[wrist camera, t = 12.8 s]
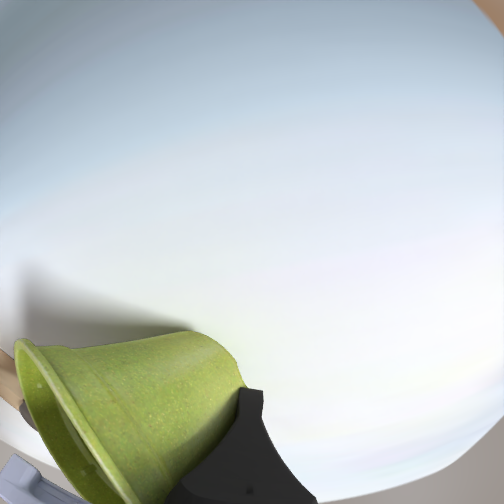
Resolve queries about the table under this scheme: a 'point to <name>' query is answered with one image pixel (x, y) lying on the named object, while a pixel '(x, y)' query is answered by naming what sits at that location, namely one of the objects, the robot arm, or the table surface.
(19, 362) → the plant pot
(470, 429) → the table surface
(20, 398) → the oak arm
